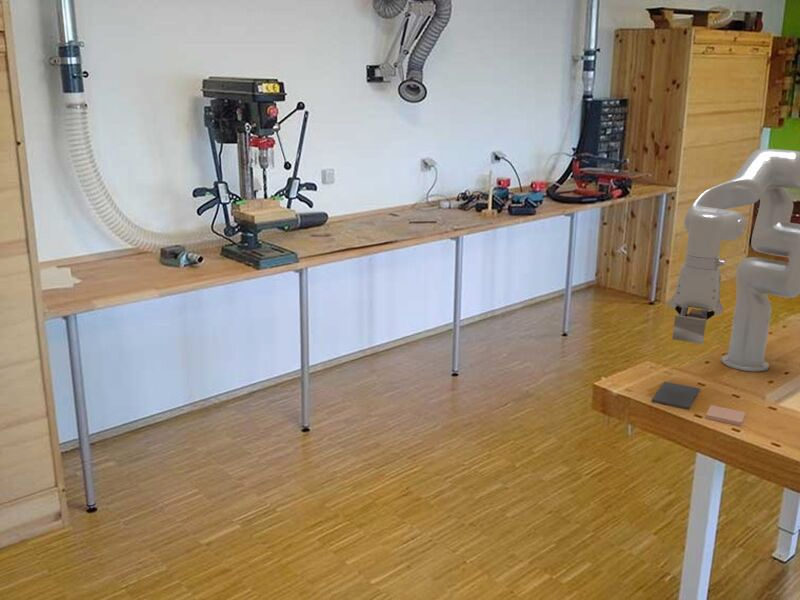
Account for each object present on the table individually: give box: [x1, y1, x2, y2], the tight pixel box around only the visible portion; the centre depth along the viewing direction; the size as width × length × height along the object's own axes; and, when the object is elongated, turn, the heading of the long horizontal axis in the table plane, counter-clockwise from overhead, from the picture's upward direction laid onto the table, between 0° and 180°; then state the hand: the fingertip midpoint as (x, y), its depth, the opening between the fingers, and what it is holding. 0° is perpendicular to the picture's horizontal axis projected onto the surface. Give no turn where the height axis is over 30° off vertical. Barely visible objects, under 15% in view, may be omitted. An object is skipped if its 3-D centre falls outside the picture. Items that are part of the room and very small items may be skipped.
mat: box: [651, 381, 701, 410], centre depth 202 cm, size 15×9×1 cm, turn 150°
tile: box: [705, 404, 746, 427], centre depth 190 cm, size 2×8×7 cm
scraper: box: [672, 308, 707, 345], centre depth 196 cm, size 13×7×6 cm, turn 151°
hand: (692, 332), depth 198 cm, fingers closed on scraper, 3 cm apart
